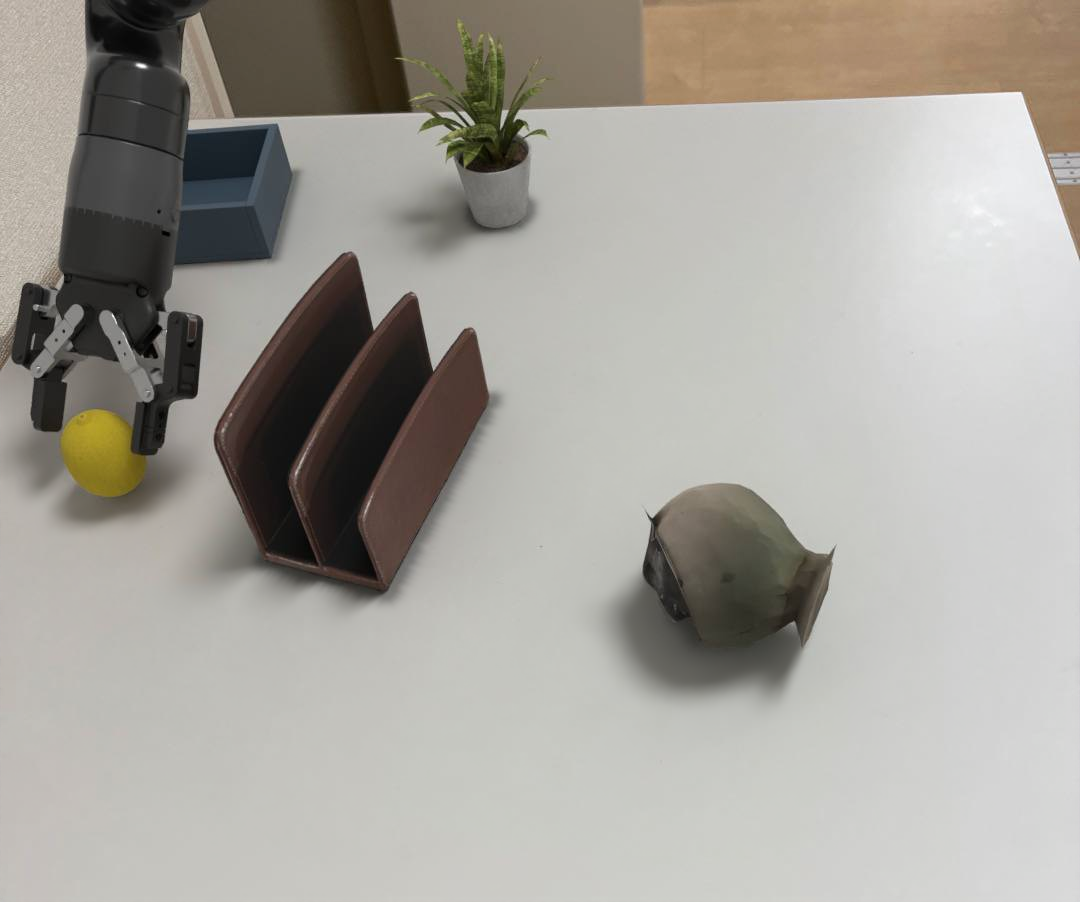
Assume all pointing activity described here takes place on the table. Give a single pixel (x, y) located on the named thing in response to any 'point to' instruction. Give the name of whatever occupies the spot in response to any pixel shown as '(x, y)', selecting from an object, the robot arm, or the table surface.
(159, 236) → the robot arm
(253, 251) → the bin
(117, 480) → the lemon
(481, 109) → the house plant
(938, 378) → the table surface
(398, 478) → the letter holder
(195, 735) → the table surface
